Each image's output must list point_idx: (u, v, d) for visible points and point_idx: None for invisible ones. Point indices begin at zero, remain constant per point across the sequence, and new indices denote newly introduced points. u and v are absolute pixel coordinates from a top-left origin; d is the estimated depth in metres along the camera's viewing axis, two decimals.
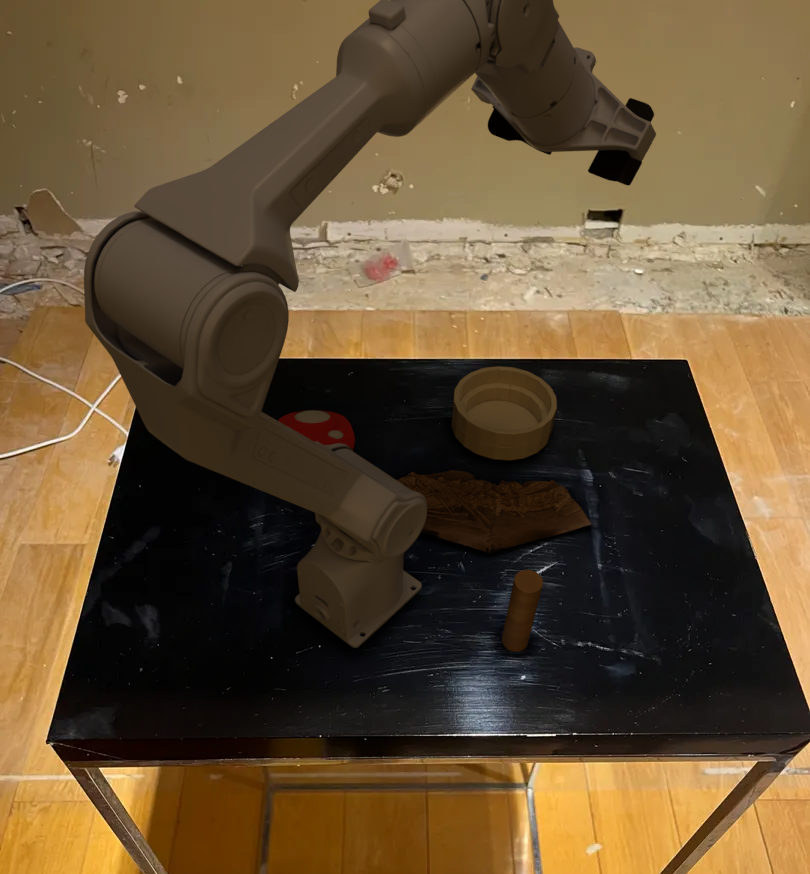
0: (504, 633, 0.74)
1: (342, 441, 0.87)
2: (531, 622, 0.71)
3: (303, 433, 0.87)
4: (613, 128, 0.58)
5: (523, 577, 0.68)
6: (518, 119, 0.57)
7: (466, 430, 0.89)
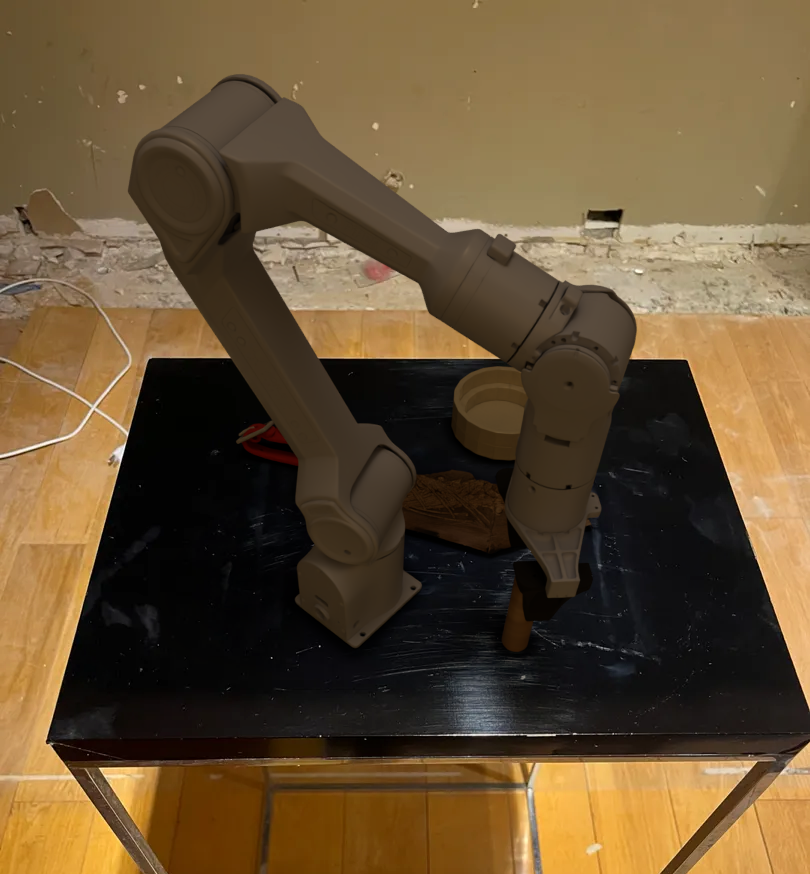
0: (504, 633, 0.74)
1: None
2: (531, 622, 0.71)
3: None
4: (557, 555, 0.58)
5: None
6: (515, 468, 0.58)
7: (466, 430, 0.89)
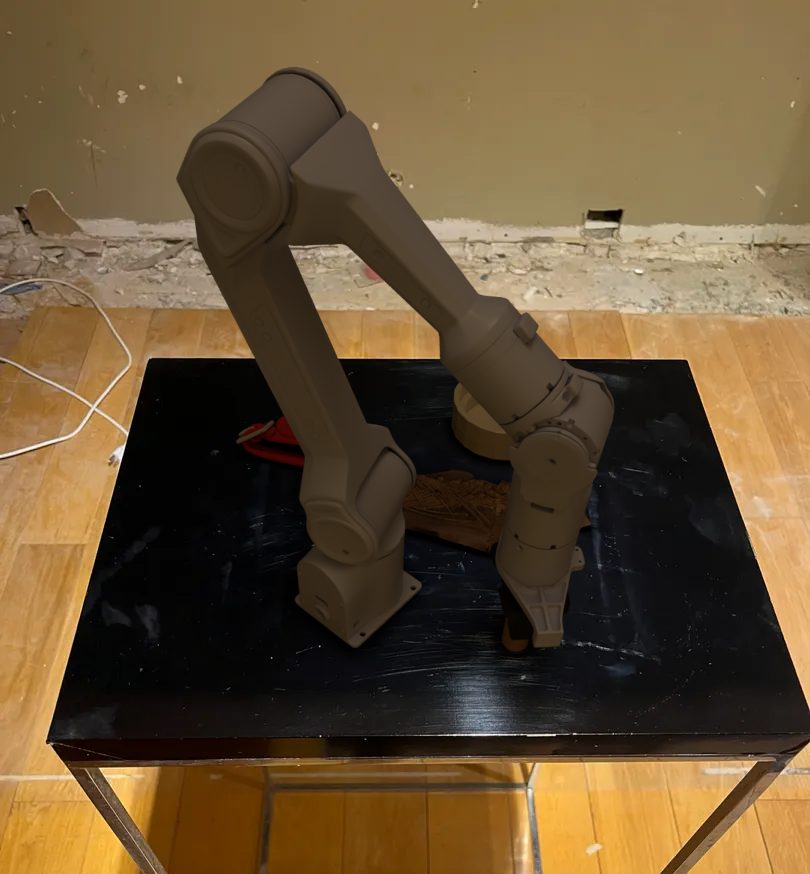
0: (504, 633, 0.74)
1: None
2: None
3: None
4: (543, 608, 0.63)
5: None
6: (505, 527, 0.63)
7: (466, 430, 0.89)
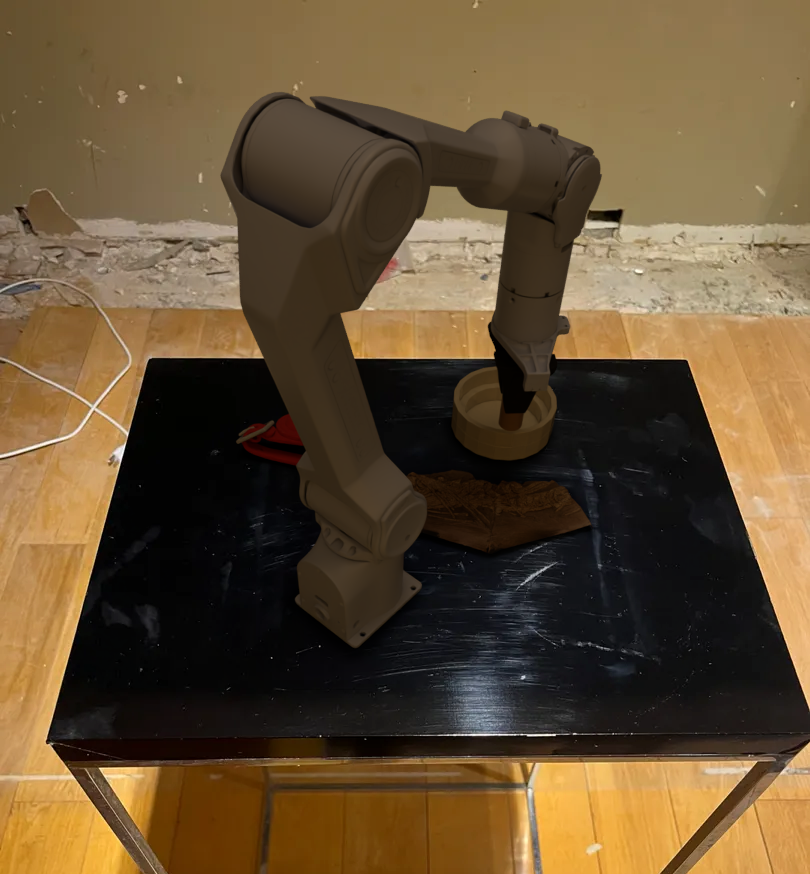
0: (500, 412, 0.82)
1: None
2: None
3: None
4: (532, 357, 0.71)
5: None
6: (499, 285, 0.71)
7: (466, 430, 0.89)
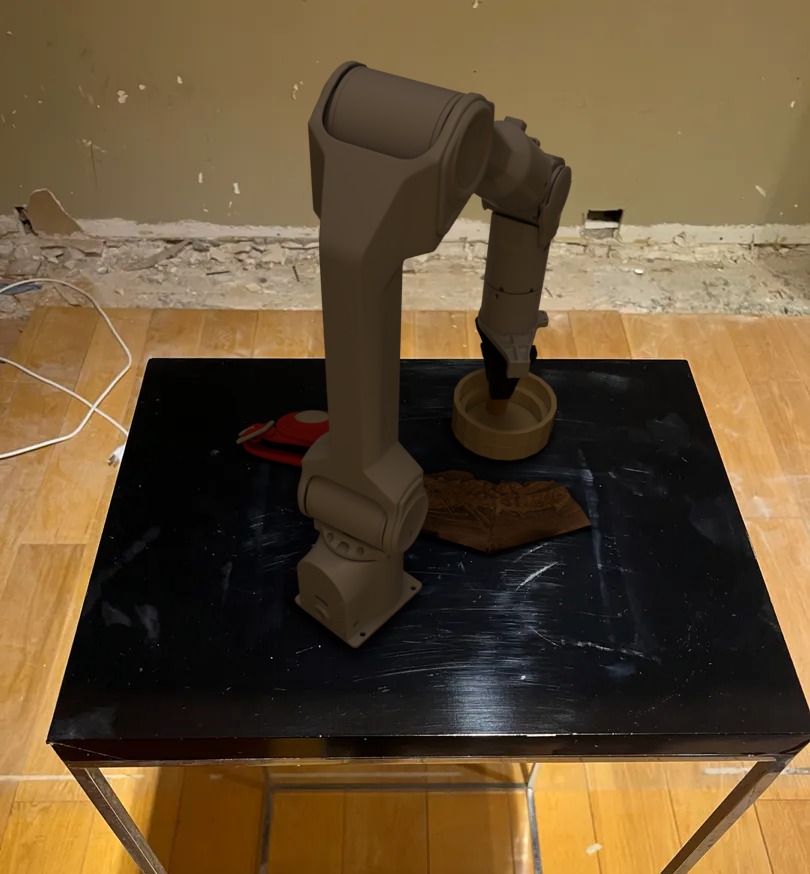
0: (487, 399, 0.90)
1: None
2: None
3: (303, 433, 0.87)
4: (514, 347, 0.80)
5: None
6: (484, 283, 0.79)
7: (466, 430, 0.89)
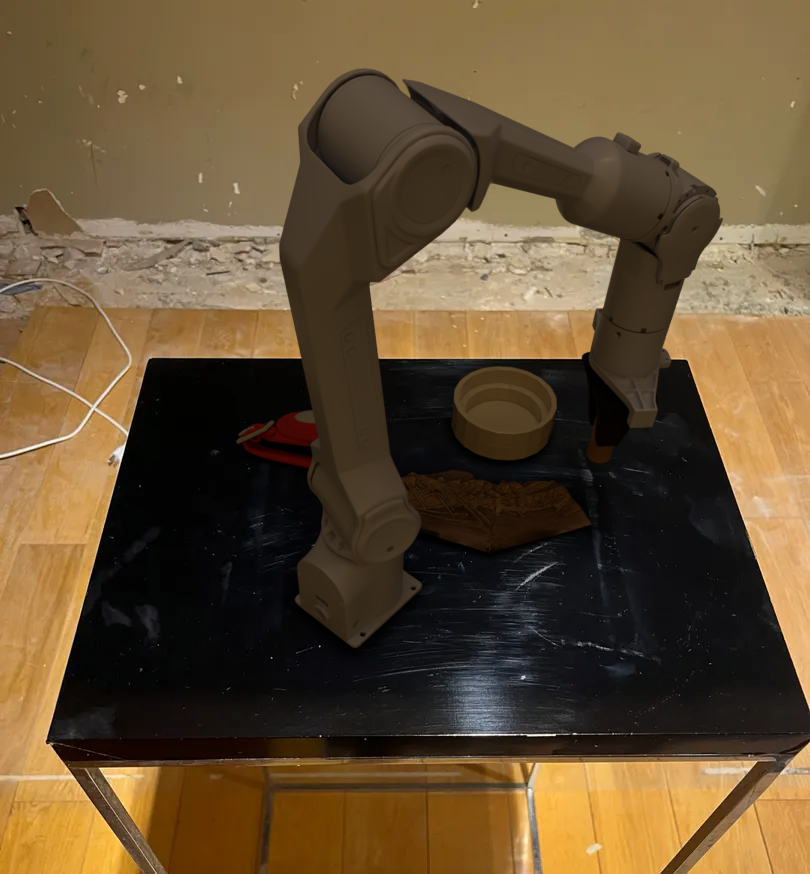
0: (590, 445, 0.80)
1: None
2: None
3: (303, 433, 0.87)
4: (637, 393, 0.69)
5: None
6: (603, 319, 0.69)
7: (466, 430, 0.89)
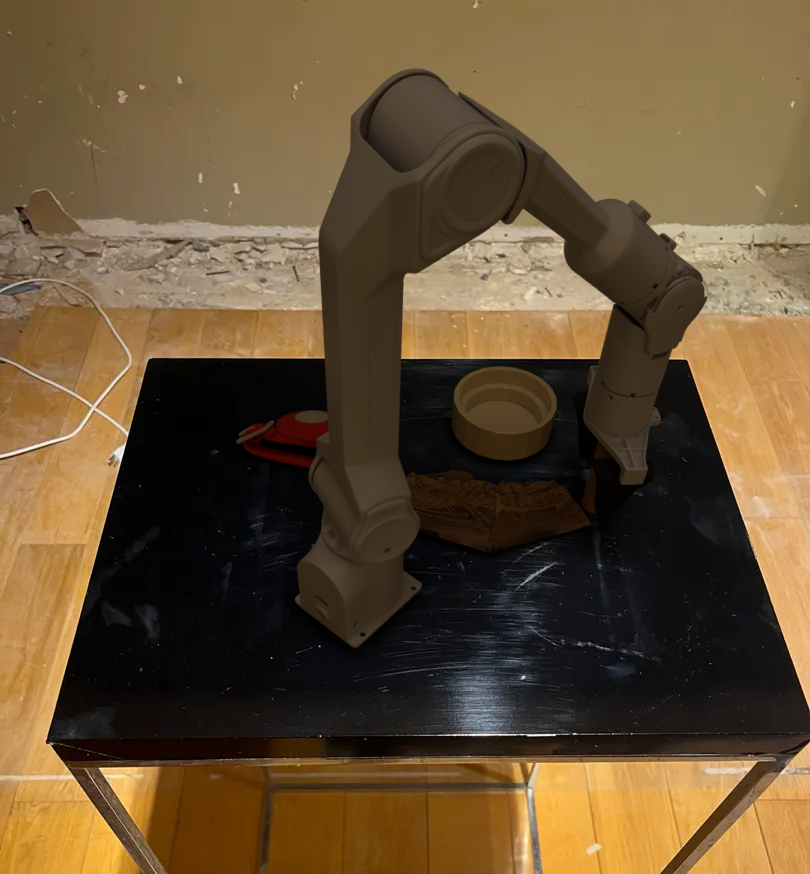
0: (584, 496, 0.85)
1: None
2: None
3: (303, 433, 0.87)
4: (628, 452, 0.74)
5: None
6: (596, 382, 0.73)
7: (466, 430, 0.89)
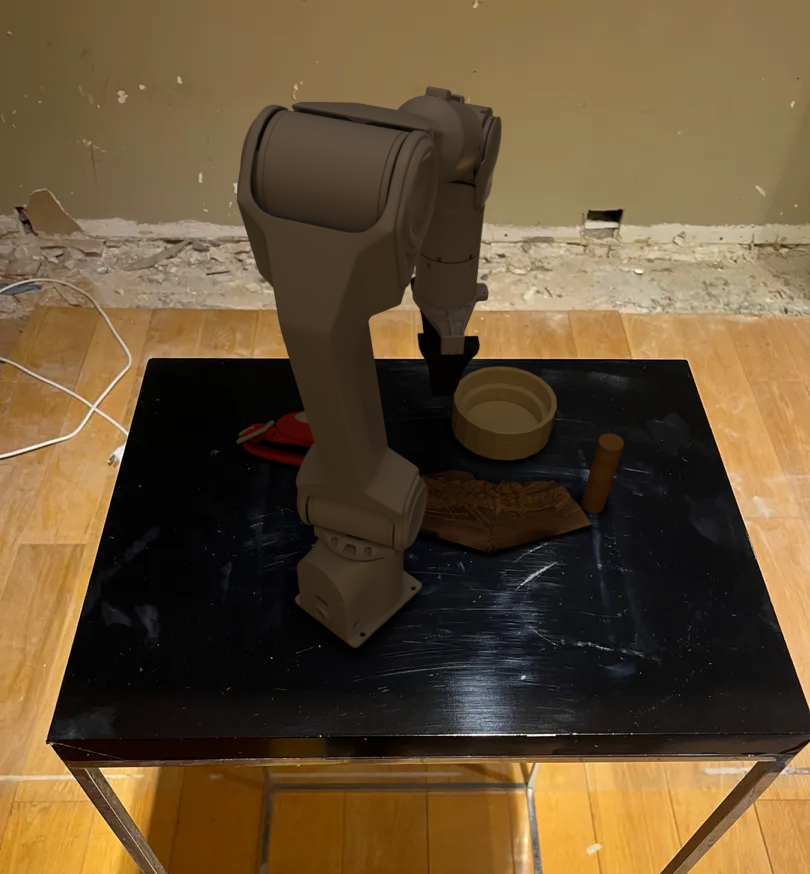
0: (584, 496, 0.85)
1: None
2: (610, 482, 0.83)
3: (303, 433, 0.87)
4: (449, 322, 0.74)
5: (606, 439, 0.80)
6: None
7: (466, 430, 0.89)
